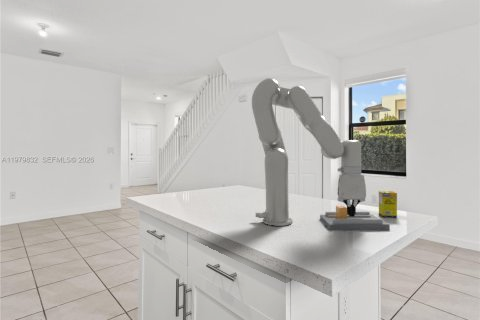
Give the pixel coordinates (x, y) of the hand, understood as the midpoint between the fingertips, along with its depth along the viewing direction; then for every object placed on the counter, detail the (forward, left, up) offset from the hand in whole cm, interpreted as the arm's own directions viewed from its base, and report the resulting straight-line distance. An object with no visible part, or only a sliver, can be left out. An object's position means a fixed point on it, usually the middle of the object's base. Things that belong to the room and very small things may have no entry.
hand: (351, 215), depth 111 cm
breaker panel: (0, 0, -3) cm, 3 cm away
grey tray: (0, 0, -1) cm, 1 cm away
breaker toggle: (-4, 0, -1) cm, 4 cm away
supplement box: (+20, +13, -4) cm, 24 cm away
